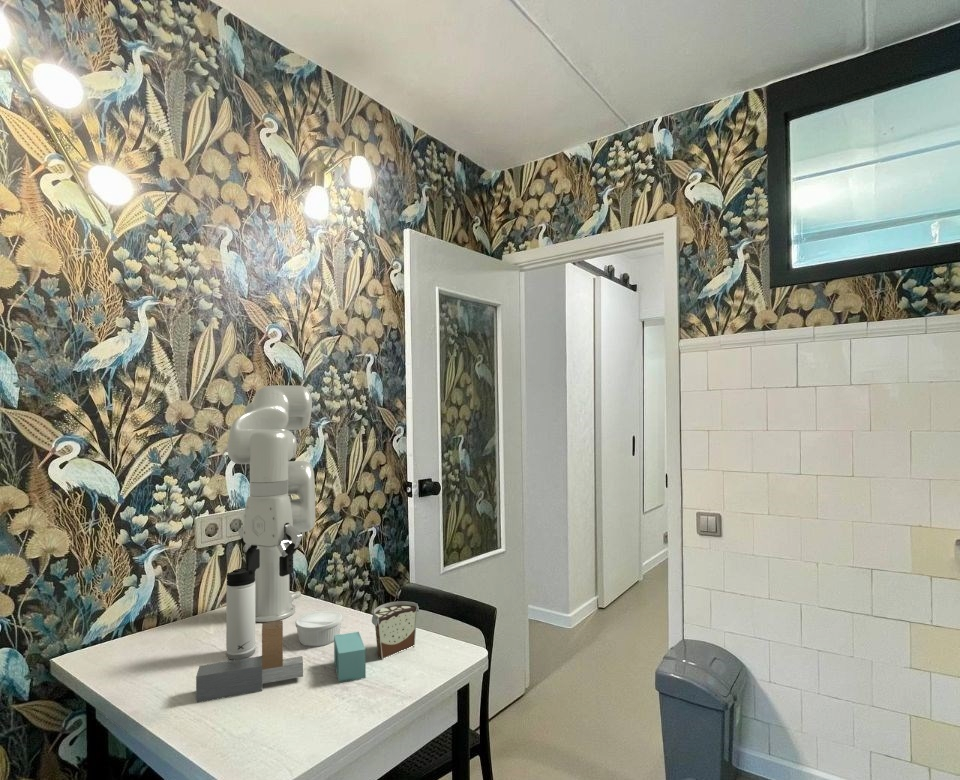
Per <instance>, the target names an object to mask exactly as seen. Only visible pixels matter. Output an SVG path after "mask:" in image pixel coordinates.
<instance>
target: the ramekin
mask: <svg viewBox="0 0 960 780" xmlns="http://www.w3.org/2000/svg"><path fill="white" fill-rule="evenodd" d="M342 620H343V615H342V613H341V612H339V611H337V610H330V609H329V610H328V609H326V610H325V609H324V610H315V611H310V612H307V613H305V614H302V615H300V616H299V617H297V619H296V620H295V627H296V630H297V636H298V640H299V642H300V644H302V645H303V646H306V647H315V648H316V647H322V646H327V645H329V644H332V643H333V642H334V635H341V634H340V633H341V632H340V631H341V628H342V627H341V626H342Z"/></svg>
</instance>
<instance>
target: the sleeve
mask: <svg viewBox="0 0 960 780" xmlns="http://www.w3.org/2000/svg"><path fill="white" fill-rule="evenodd" d="M198 666H199V667H198V670H197V673H196V677H195V680H196V681H195V703H196V702H197V703H202V701H203V702H207V700H208V701H212V699H214V700H218V699H217V698H219V699H223V698H222V697H225V698H230V697H229V696H231V697H235V696H241V695H247V694H253V693H258V692H262V691H263V684H262V655H260V656H259V655H258V656H253V657H247V658H244V659H239V660H228V661H223V662H222V661H220V662H214V663H209V664H202V665H198Z"/></svg>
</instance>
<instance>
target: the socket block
mask: <svg viewBox="0 0 960 780" xmlns="http://www.w3.org/2000/svg"><path fill="white" fill-rule="evenodd" d="M333 645H334V647H333V649H334V650H333V656H334V657H333V658H334V659H333V663H334V667H335V671H336V677H337V680H338V683H345V682H351V681H350V680H352V681H357V680H361V678H363V679H366V678H367V677H366V673H367V672H366V667H367V666H366V647H365V645H364V641H363V639H362V636H361V634H360V632H359V631H354V632H348V633H341V634H339V635H334V643H333ZM356 679H357V680H356Z"/></svg>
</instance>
